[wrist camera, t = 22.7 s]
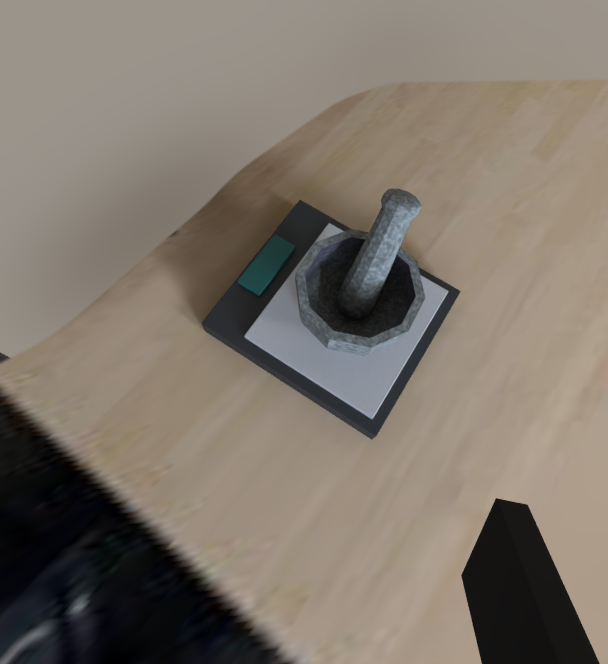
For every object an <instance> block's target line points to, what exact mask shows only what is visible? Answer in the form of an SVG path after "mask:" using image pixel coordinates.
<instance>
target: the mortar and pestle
mask: <svg viewBox="0 0 608 664" xmlns="http://www.w3.org/2000/svg"><path fill="white" fill-rule="evenodd" d="M381 203H382V208H381V210H380V212H379V214H378V216H377V218H376V220H375V222H374V224H373V226H372V228H371V230H370V232H369V233H368V232H363V231H358V230H352V229H349V230H346V231H344V232H341V233H339V234H336V235H333V236H331V237H328V238H326V239H323V240H320V241H318V242H315V243H314V245H313V247H312V248H311V250H310V251H309V253H308V254H307V256H306V257H305V259H304V261H303V262H302V264H301V265H300V267H299V268H298V270H297V272H296V276H295V283H296V290H297V298H298V306H299V314H300V319H301V322H302V324H303V325H304V326H305V327H306V328H307V329H308V330H309V331H310V332H311V333H312V334H313V335H314V336H315V337H316V338H317V339H318V340H319V341H320V342H321V343H322V344H323V345H324V346H325V347H326V348H327V349H330V350H335V351H340V352H345V353H350V354H355V355H360V356H366V355H369V354H371V353H373V352H375V351H378V350H380V349H382V348H384V347H387V346H389V345H391V344H393V343H396V342H398V341H399V340H401V339H402V338H404V337H405V336H406V334H407V333H408V331H409V329H410V328H411V326H412V324H413V322H414V320H415V318H416V316H417V314H418V312H419V310H420V308H421V306H422V304H423V302H424V300H425V294H424V289H423V285H422V281H421V277H420V272H419V268H418V264H417V261H415V260H414V259H413V258H412V257H411V256H410V255H409V254H408V253H406V252H405V251H404V250H403V249H402V248H401V247H400V245H401V243H402V240H403V238H404V236H405V233H406V231H407V228H408V226H409V224H410V221H411V219H413V218H415V217H416V216H417V214H418V212H419V210H420V208H421V203H420V202H419V200H418V199H417V198H416V197H415V196H414V195H412V194H411V193H409V192H407V191H404V190H401V189H388V190H387V191H386V192H385V193H384V195H383V197H382V199H381Z"/></svg>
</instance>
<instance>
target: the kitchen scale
mask: <svg viewBox="0 0 608 664" xmlns="http://www.w3.org/2000/svg"><path fill="white" fill-rule="evenodd" d="M349 229H350V228H348V227H347V226H345V225H343V224H341V223H340V222H338V221H336V220H334V219H333V218H331V217H329V216H327V215H326V214H324V213H322V212H320V211H319V210H317V209H315V208H313V207H312V206H310V205H308V204H306V203H304V202H303V201H301V200H300V201H299V202H298V203H297V204H296V206H295V207H294V208H293V209H292V211H291V212H290V213H289V214H288V216H287V217H286V218H285V219H284V221H283V222H282V223H281V224H280V226H279V227H278V228H277V229H276V231H275V232H274V233H273V234H272V236H271V237H270V238H269V239H268V241H267V242H266V243H265V244H264V246H263V247H262V248H261V249H260V251H259V252H258V253H257V254H256V256H255V257H254V258H253V259H252V261H251V262H250V263H249V264H248V266H247V267H246V268H245V269H244V271H243V272H242V273H241V274H240V276H239V277H238V278H237V279H236V281H235V282H234V283H233V284H232V286H231V287H230V288H229V289H228V291H227V292H226V293H225V294H224V296H223V297H222V298H221V299H220V301H219V302H218V303H217V305H216V306H215V307H214V308H213V310H212V311H211V312H210V313H209V315H208V316H207V317H206V318H205V320H204V321H203V322H202V325H203V327H204V329H205V331H206V332H207V333H209V334H210V335H212V336H213V337H215V338H217V339H218V340H220V341H221V342H223V343H224V344H226V345H227V346H229V347H230V348H232V349H233V350H235V351H237V352H238V353H240V354H241V355H243V356H244V357H246V358H247V359H249V360H250V361H252V362H253V363H255V364H257V365H258V366H260V367H261V368H263V369H264V370H266V371H267V372H269V373H270V374H272V375H273V376H275V377H277V378H278V379H280V380H281V381H283V382H284V383H286V384H287V385H289V386H290V387H292V388H293V389H295V390H297V391H298V392H300V393H301V394H303V395H304V396H306V397H307V398H309V399H310V400H312V401H313V402H315V403H317V404H318V405H320V406H321V407H323V408H324V409H326V410H327V411H329V412H330V413H332V414H333V415H335V416H337V417H338V418H340V419H341V420H343V421H344V422H346V423H347V424H349V425H350V426H352V427H354V428H355V429H357V430H358V431H360V432H361V433H363V434H364V435H366V436H367V437H369V438H370V439H373V438H374V437H376V436H377V434H378V432H379V431H380V429H381V427H382V425H383V424H384V422H385V420H386V419H387V417H388V415H389V413H390V412H391V410H392V408H393V407H394V405H395V403H396V401H397V400H398V398H399V396H400V395H401V393H402V391H403V389H404V388H405V386H406V384H407V383H408V381H409V379H410V377H411V376H412V374H413V372H414V371H415V369H416V367H417V365H418V364H419V362H420V360H421V359H422V357H423V355H424V353H425V352H426V350H427V348H428V347H429V345H430V343H431V341H432V340H433V338H434V336H435V335H436V333H437V331H438V329H439V328H440V326H441V324H442V323H443V321H444V319H445V317H446V316H447V314H448V312H449V311H450V309H451V307H452V305H453V304H454V302H455V300H456V299H457V297H458V295H459V293H460V291H459V290H458V289H456V288H454V287H452V286H451V285H449V284H447V283H445V282H443V281H442V280H440V279H438V278H436V277H435V276H433V275H431V274H429V273H428V272H426V271H424V270H422V269H421V268H419V267H418V268H419V272H420V277H421V281H422V285H423V289H424V294H425V300H424V302H423V304H422V306H421V308H420V310H419V312H418V314H417V316H416V318H415V320H414V322H413V324H412V326H411V328H410V329H409V331H408V333H407V334H406V336H405V337H404V338H402V339H401V340H399V341H398V342H396V343H393V344H391V345H389V346H387V347H384V348H382V349H380V350H378V351H375V352H373V353H371V354H369V355H366V356H360V355H355V354H350V353H345V352H340V351H335V350H330V349H327V348H326V347H325V346H324V345H323V344H322V343H321V342H320V341H319V340H318V339H317V338H316V337H315V336H314V335H313V334H312V333H311V332H310V331H309V330H308V329H307V328H306V327H305V326H304V325H303V324H302V322H301V319H300V314H299V306H298V298H297V290H296V283H295V276H296V272H297V270H298V268H299V267H300V265H301V264H302V262H303V261H304V259H305V257H306V256H307V254H308V253H309V251H310V250H311V248H312V247H313V245H314V243H315V242H318V241H320V240H323V239H326V238H328V237H331V236H333V235H336V234H339V233H341V232H344V231H346V230H349Z"/></svg>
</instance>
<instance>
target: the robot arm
mask: <svg viewBox="0 0 608 664" xmlns="http://www.w3.org/2000/svg"><path fill="white" fill-rule="evenodd" d="M461 576H462V580H463V584H464V589H465V593H466V597H467V602H468V606H469V610H470V614H471V619H472V623H473V627H474V632H475V636H476V640H477V644H478V649H479V653H480V657H481V661H482V664H599V661H598V659H597V657H596V655H595V652H594V650H593V648H592V646H591V644H590V641H589V639H588V637H587V635H586V633H585V630H584V628H583V626H582V624H581V622H580V620H579V617H578V615H577V613H576V611H575V608H574V606H573V604H572V602H571V600H570V597H569V595H568V593H567V591H566V589H565V586H564V584H563V582H562V580H561V578H560V575H559V573H558V571H557V569H556V567H555V565H554V562H553V560H552V558H551V556H550V553H549V551H548V549H547V547H546V544H545V542H544V540H543V538H542V536H541V533H540V531H539V529H538V527H537V525H536V522H535V520H534V518H533V516H532V514H531V511H530V509H529V507H528V505H526V504H521V503H516V502H511V501H506V500H501V499H497V498H496V500H495V502H494V504H493V506H492V508H491V511H490V513H489V515H488V517H487V520H486V522H485V524H484V526H483V528H482V531H481V533H480V535H479V537H478V540H477V542H476V544H475V546H474V548H473V551H472V553H471V555H470V557H469V560H468V562H467V564H466V566H465V568H464V571H463V573H462V575H461Z"/></svg>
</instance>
